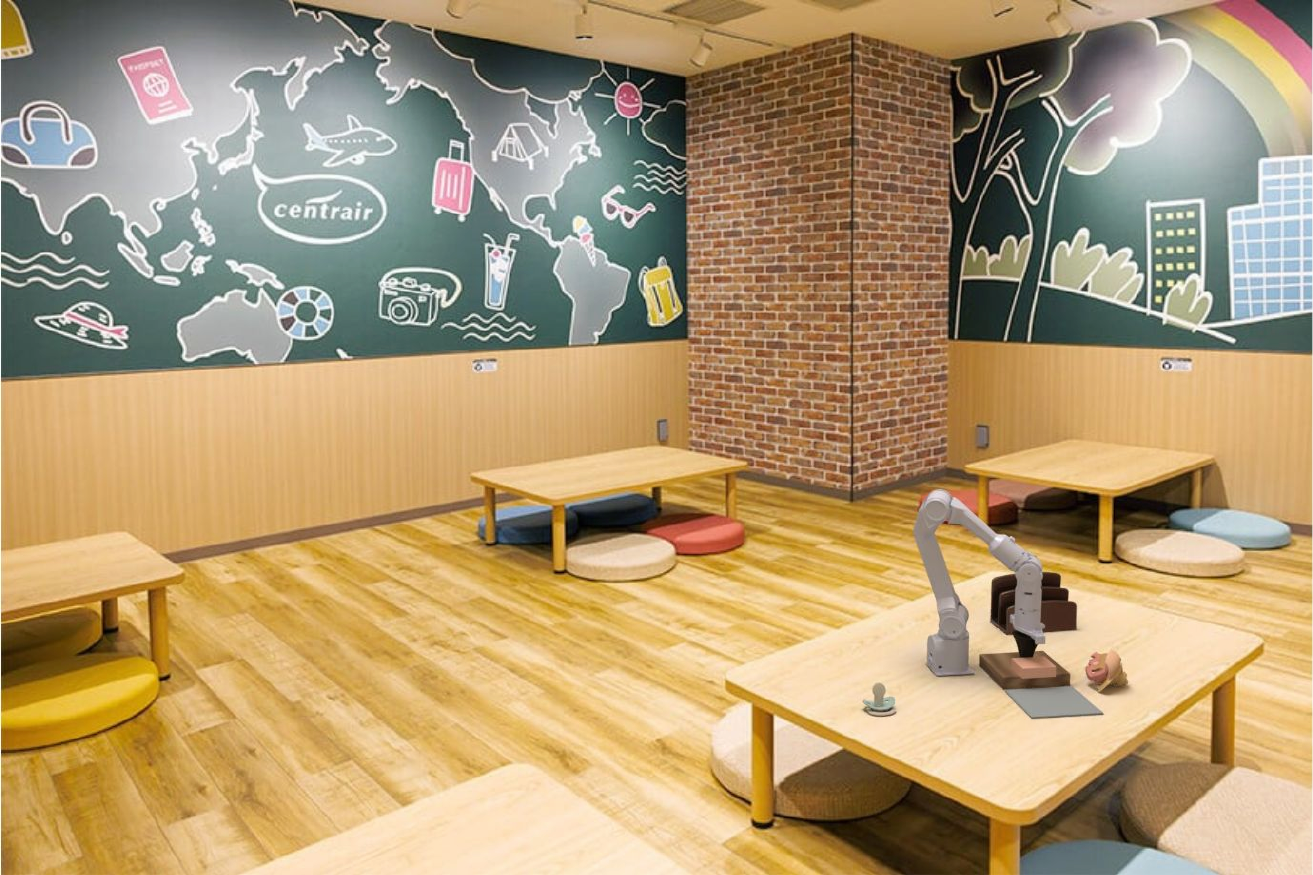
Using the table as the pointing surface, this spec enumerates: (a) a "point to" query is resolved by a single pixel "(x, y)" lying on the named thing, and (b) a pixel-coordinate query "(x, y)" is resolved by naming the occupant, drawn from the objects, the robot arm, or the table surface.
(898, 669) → the table surface
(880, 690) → the pacifier
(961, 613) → the robot arm
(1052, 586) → the letter holder
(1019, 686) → the step
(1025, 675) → the tile
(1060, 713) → the mat
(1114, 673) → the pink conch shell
